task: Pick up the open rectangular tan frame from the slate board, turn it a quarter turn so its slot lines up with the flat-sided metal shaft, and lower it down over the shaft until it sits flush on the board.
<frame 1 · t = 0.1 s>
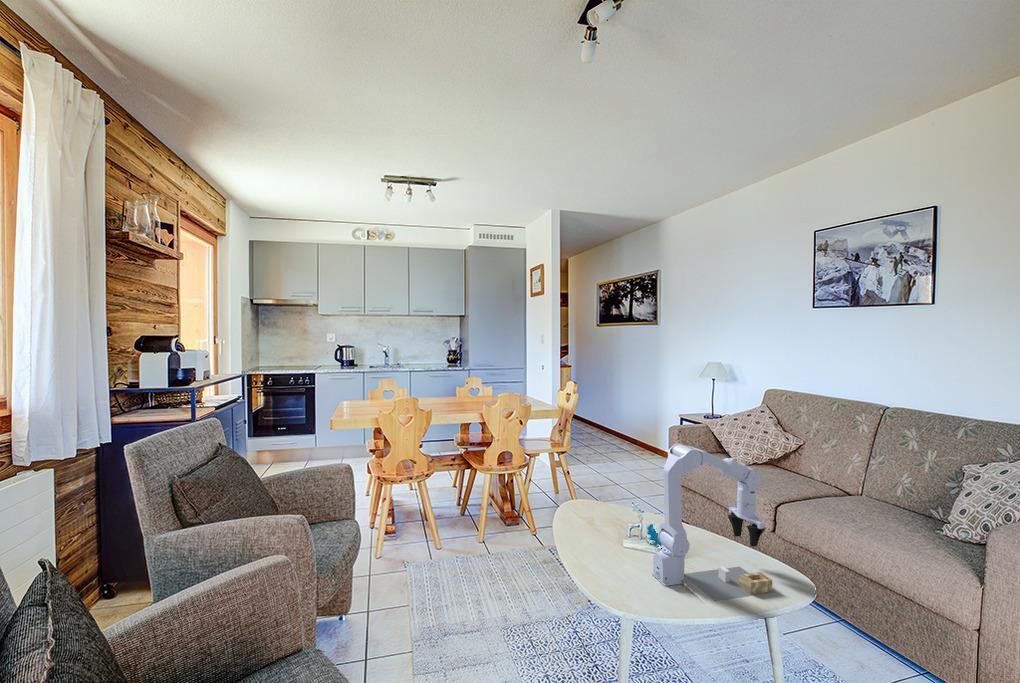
hand: (745, 540, 162), 10 cm above the table, tool pointing down, fingers open, 7 cm apart
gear: (658, 546, 180), on the table
board: (728, 585, 152), on the table
open rectangular tan frame: (755, 588, 149), point 1 cm above the table, touching board
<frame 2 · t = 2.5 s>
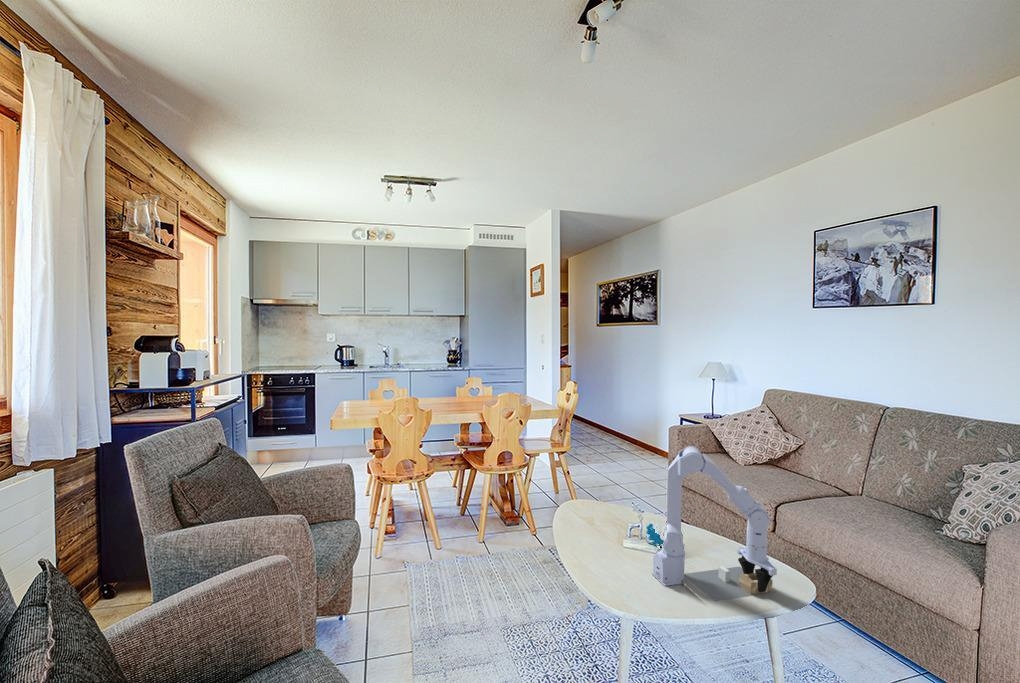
hand: (755, 586, 149), 2 cm above the table, tool pointing down, fingers closed on open rectangular tan frame, 5 cm apart
open rectangular tan frame: (755, 588, 149), point 1 cm above the table, touching board, gripper
everything else where it was.
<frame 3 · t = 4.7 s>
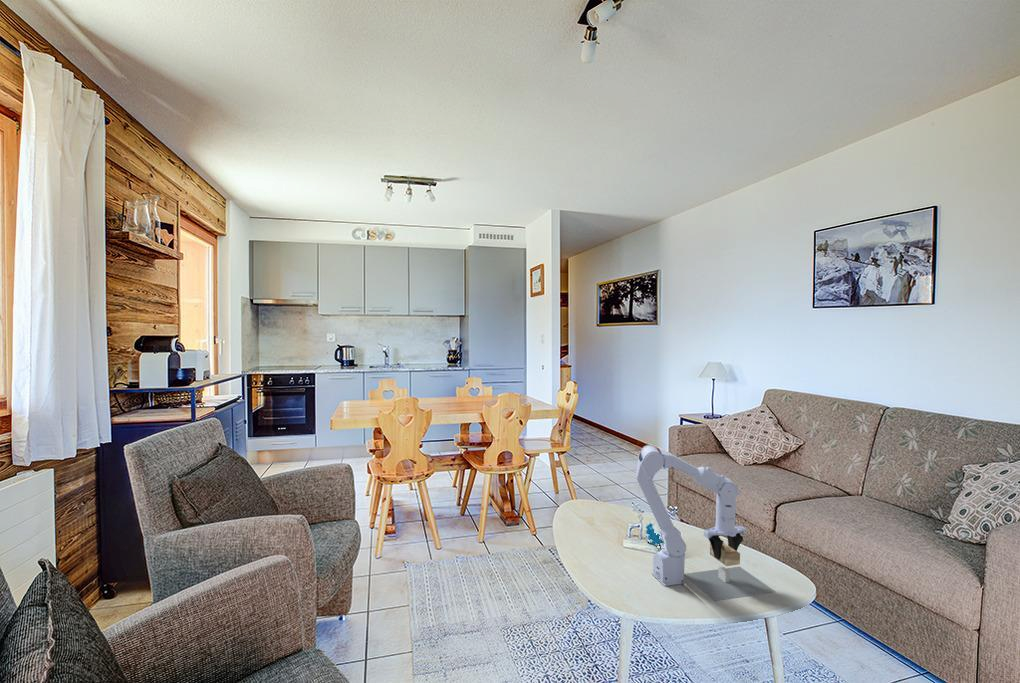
hand: (724, 557, 154), 8 cm above the table, tool pointing down, fingers closed on open rectangular tan frame, 5 cm apart
open rectangular tan frame: (724, 559, 154), point 8 cm above the table, touching gripper
everything else where it was.
when the fingers open (3 cm above the table, at t = 7.1 s): open rectangular tan frame stays where it is, resting on board.
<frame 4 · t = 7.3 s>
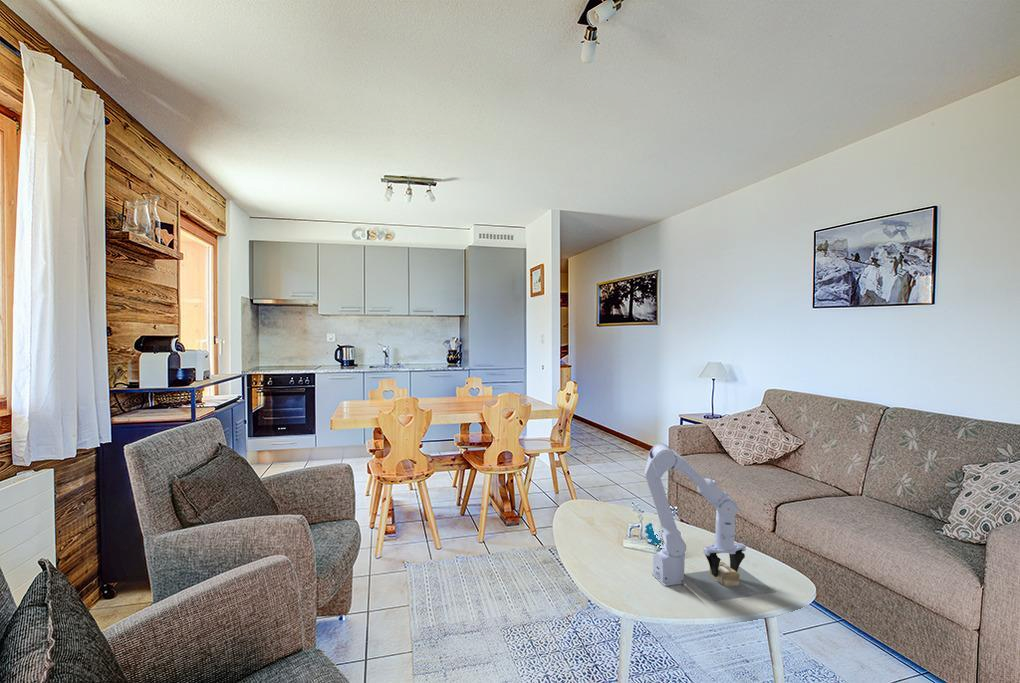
hand: (724, 574, 154), 3 cm above the table, tool pointing down, fingers open, 7 cm apart
open rectangular tan frame: (724, 579, 154), point 1 cm above the table, touching board
everything else where it was.
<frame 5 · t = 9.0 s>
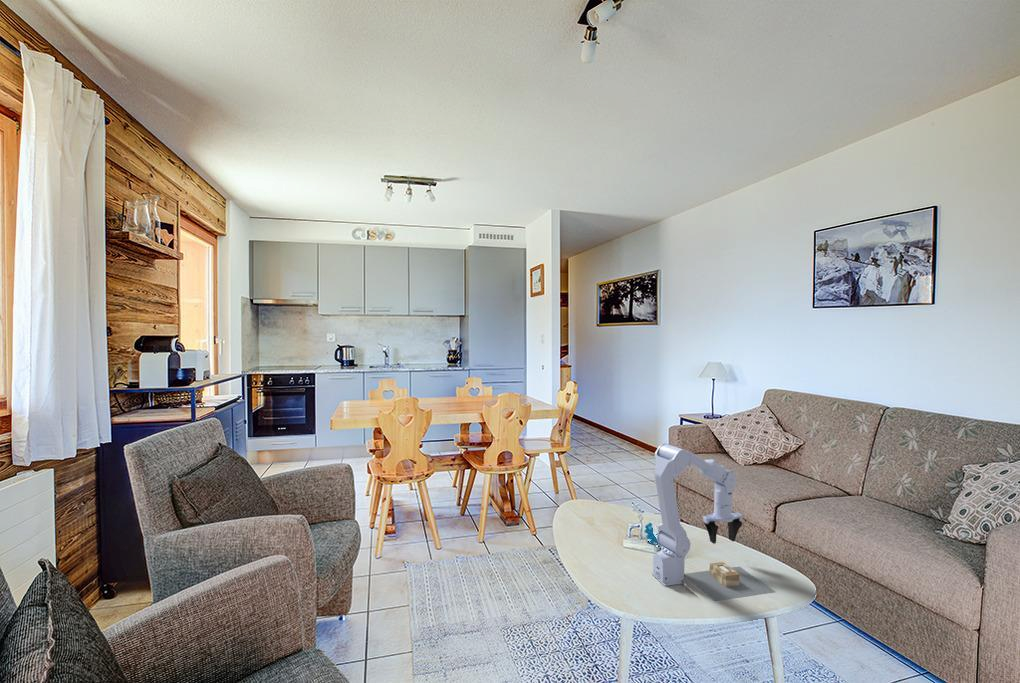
hand: (722, 541, 165), 8 cm above the table, tool pointing down, fingers open, 7 cm apart
nothing on the table moved.
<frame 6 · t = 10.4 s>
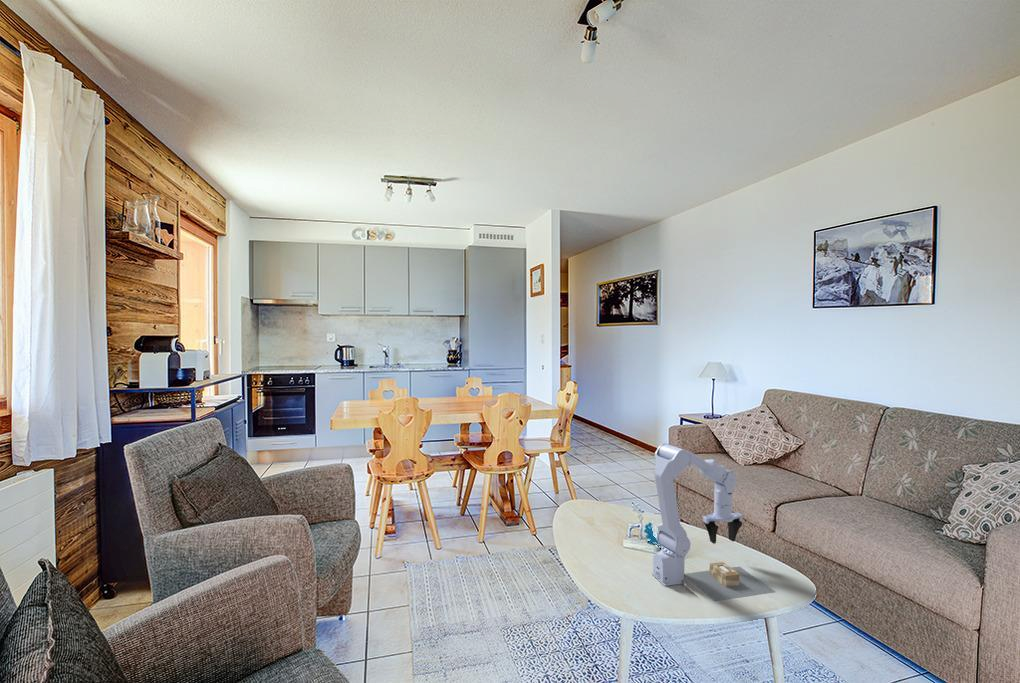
hand: (722, 541, 165), 8 cm above the table, tool pointing down, fingers open, 7 cm apart
at the end: open rectangular tan frame 0.0 cm from the target spot on the board, point 1.0 cm above the board's base; open rectangular tan frame tilted 0°; the gripper is holding nothing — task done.
